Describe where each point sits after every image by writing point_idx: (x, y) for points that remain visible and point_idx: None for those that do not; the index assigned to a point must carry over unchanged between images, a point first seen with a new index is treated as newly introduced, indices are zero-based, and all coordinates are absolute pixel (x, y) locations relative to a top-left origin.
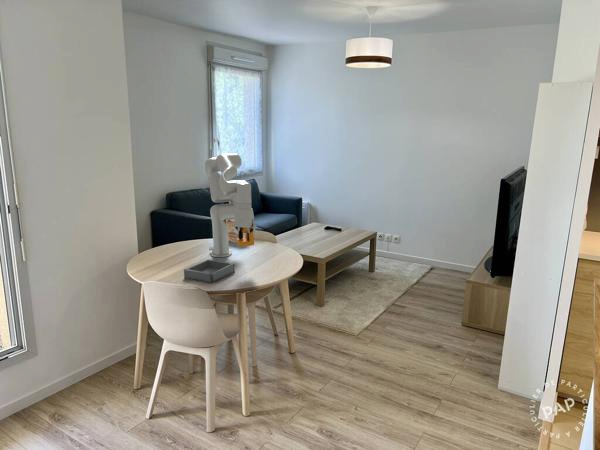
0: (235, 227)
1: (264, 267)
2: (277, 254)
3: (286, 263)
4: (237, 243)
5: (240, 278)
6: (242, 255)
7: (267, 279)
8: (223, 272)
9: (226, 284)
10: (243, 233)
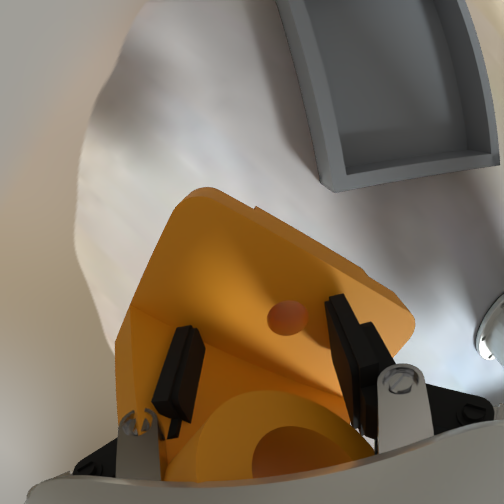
0: (492, 408)
1: None
2: None
3: None
4: (358, 268)
5: (212, 130)
6: (437, 371)
7: (97, 217)
8: (302, 70)
9: (201, 22)
10: None
